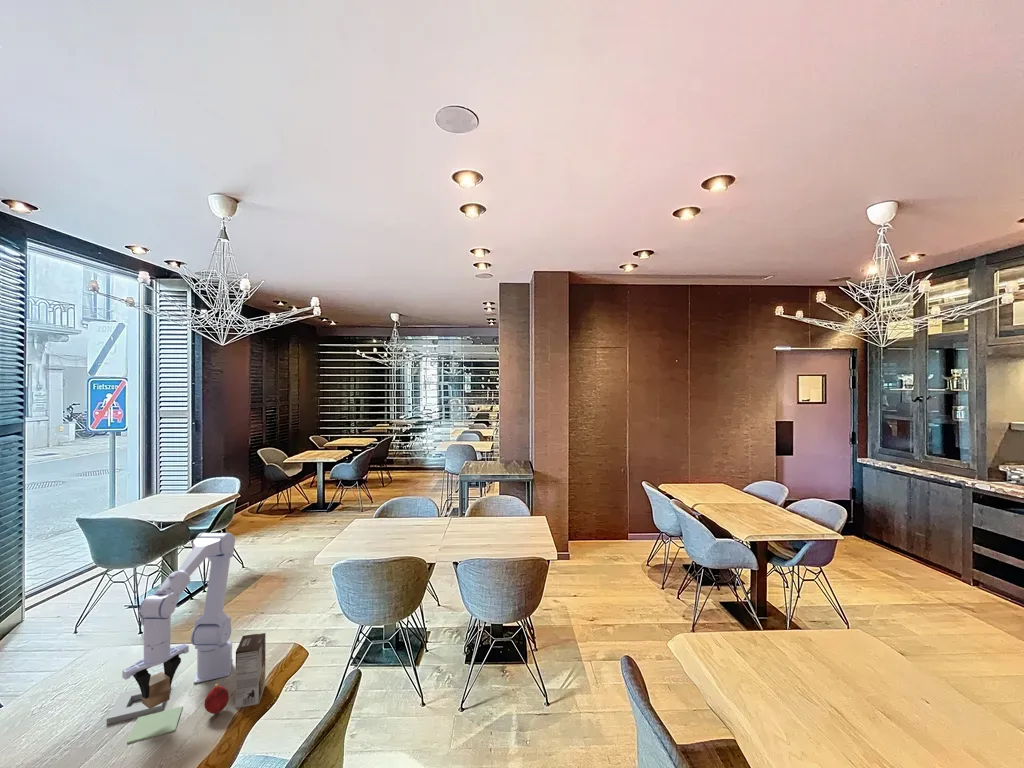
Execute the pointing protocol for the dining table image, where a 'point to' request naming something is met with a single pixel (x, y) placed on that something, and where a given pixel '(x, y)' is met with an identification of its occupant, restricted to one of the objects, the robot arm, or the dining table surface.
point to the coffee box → (250, 670)
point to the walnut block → (157, 690)
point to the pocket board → (125, 712)
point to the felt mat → (155, 724)
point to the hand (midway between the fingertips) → (156, 691)
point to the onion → (216, 699)
